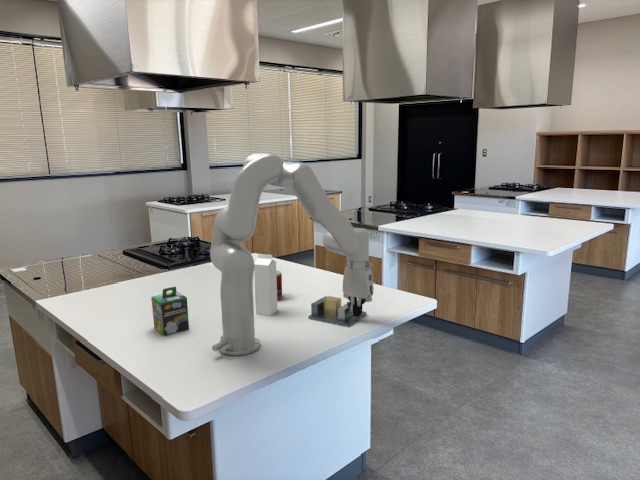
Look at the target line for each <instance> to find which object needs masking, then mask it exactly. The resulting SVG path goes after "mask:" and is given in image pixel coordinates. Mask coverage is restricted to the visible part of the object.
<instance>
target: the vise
mask: <svg viewBox="0 0 640 480" xmlns="http://www.w3.org/2000/svg"><path fill="white" fill-rule="evenodd" d="M326 297H328V296H324V297H322V298H319V299H318V300H316V301H314V302H311V303H310V308H311V309H310V311H311V313H310V315H308V320H312V321H318V322H322V323H327V324H331V323H332V325H336V324H337V326H341V325H343V326H342V327H345V326H349V327H351V326H352V325H354V324H355V323H356V322H358V321H359V320H361V319H362V318H363V317H362V316H364V315H365V314H366V315H367V311H363V310H362V314H361V315H360V316H359V317H356V316H355V317H354V316H351V317H350V318H348V319H347V320H345V321H343V320H338V315H337V316H333V315H328V314H324V299H325V298H326ZM366 315H365V316H366ZM365 316H364V317H365ZM361 317H362V318H361ZM360 318H361V319H360ZM358 319H359V320H358ZM357 320H358V321H357ZM355 321H356V322H355ZM354 322H355V323H354ZM353 323H354V324H353ZM351 324H352V325H351ZM350 325H351V326H350Z"/></svg>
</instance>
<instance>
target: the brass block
mask: <svg viewBox="0 0 640 480" xmlns="http://www.w3.org/2000/svg"><path fill="white" fill-rule="evenodd" d="M340 307H342V298H341V297H336V296H331V295H329V296H327V297H326V298H325V299H324V314H328V315H333V316H337V315H338V308H340Z"/></svg>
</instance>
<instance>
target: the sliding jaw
mask: <svg viewBox="0 0 640 480" xmlns="http://www.w3.org/2000/svg"><path fill="white" fill-rule="evenodd" d="M351 316H353V305H351V302H350V301H347V302H346V303H345V304H343V305H341V307H340V308H338V320H343V321H345V320H347V319H348V318H350V317H351Z"/></svg>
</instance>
